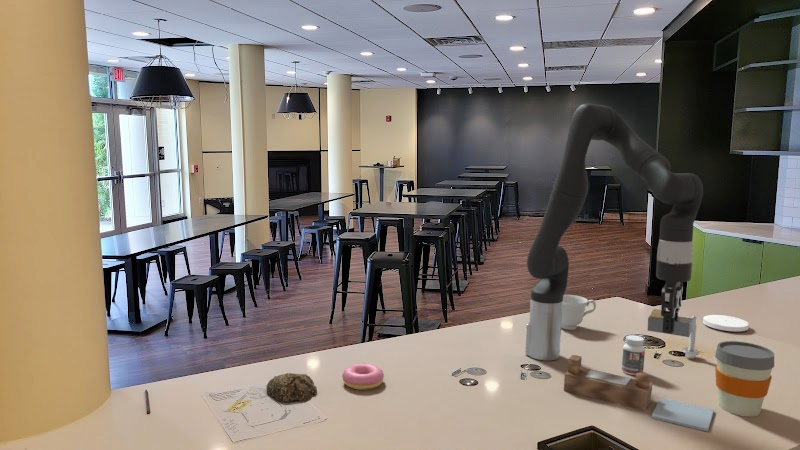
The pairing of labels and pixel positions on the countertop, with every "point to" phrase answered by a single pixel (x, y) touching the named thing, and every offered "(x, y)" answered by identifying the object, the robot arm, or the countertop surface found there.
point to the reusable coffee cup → (743, 376)
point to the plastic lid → (725, 323)
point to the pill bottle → (633, 355)
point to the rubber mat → (683, 414)
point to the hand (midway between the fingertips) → (669, 329)
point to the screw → (691, 343)
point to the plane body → (608, 385)
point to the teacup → (574, 311)
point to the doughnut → (363, 376)
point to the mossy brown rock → (291, 387)
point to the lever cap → (680, 324)
